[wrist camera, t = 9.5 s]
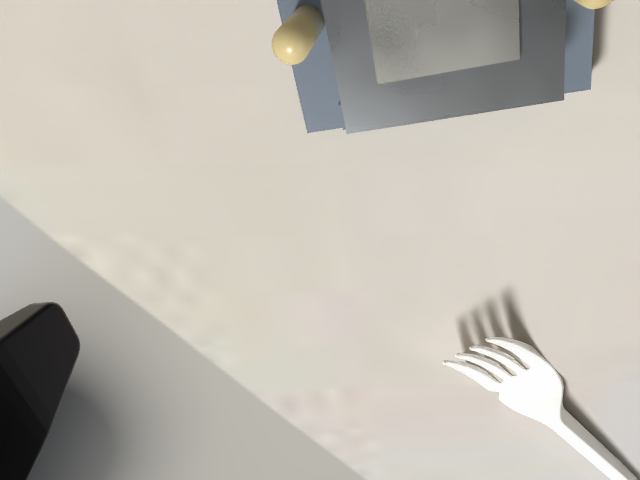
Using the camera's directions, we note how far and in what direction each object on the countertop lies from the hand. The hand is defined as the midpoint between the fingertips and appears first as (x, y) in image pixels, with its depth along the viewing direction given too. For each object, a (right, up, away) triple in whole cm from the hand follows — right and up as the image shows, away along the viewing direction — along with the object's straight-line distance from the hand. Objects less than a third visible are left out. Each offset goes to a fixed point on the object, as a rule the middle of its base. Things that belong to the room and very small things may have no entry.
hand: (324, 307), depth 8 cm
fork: (+13, -9, +18) cm, 24 cm away
